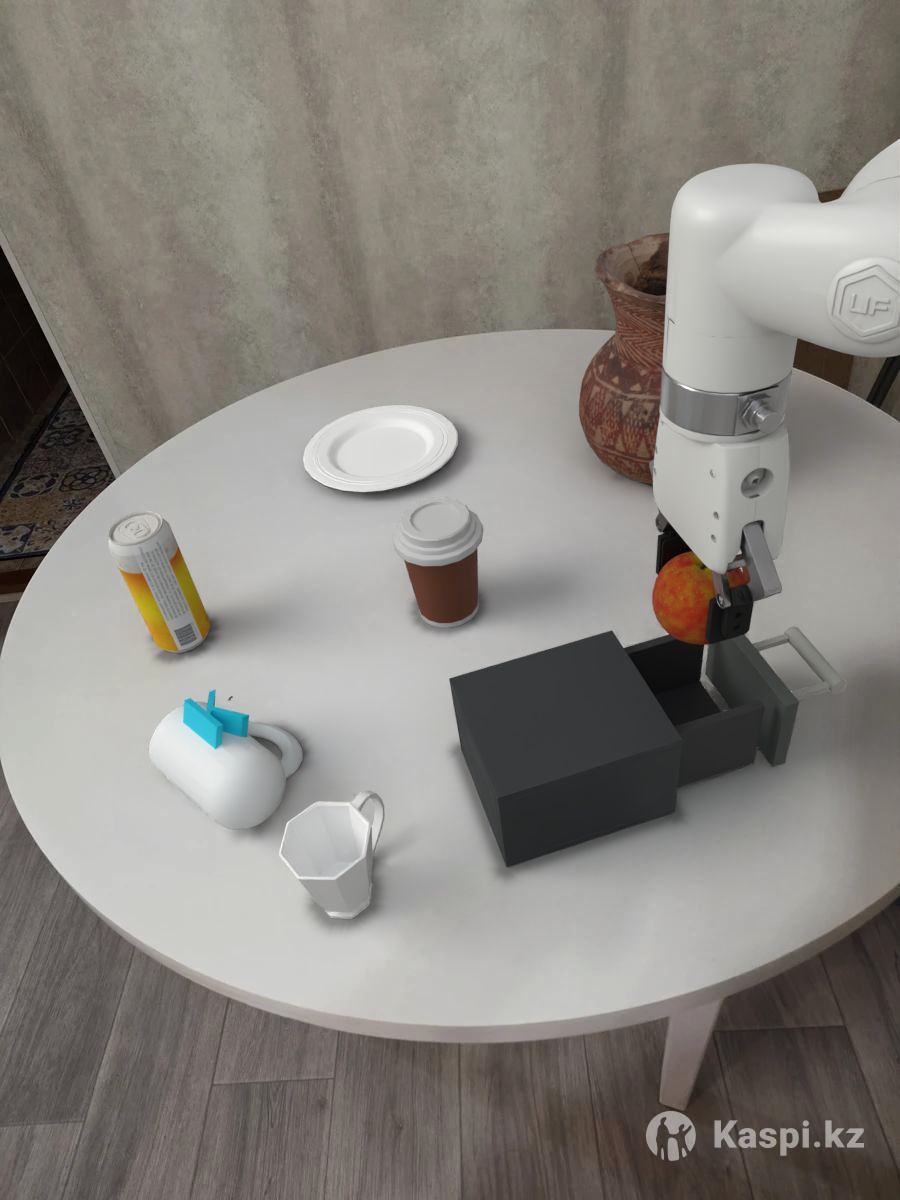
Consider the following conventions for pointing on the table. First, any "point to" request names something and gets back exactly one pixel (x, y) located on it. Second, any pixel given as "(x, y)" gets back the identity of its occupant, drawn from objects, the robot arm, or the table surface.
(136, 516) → the beer can
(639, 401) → the jug
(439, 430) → the plate
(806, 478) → the table surface
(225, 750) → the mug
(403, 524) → the coffee cup
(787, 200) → the robot arm
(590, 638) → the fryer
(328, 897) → the cup
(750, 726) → the grey drawer
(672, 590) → the fruit
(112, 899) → the table surface
